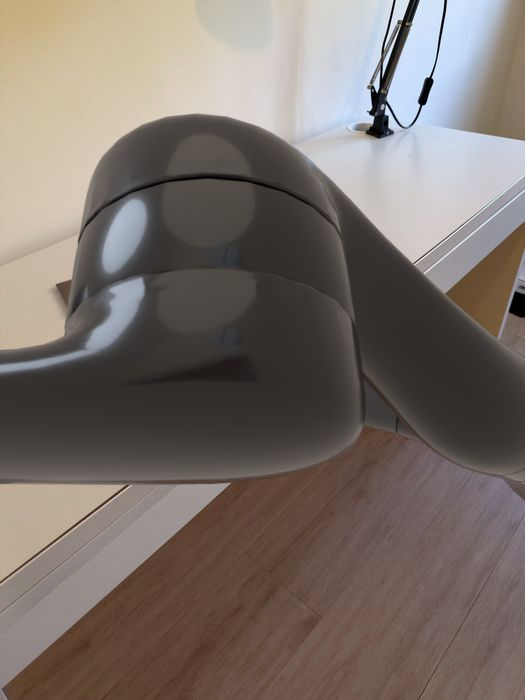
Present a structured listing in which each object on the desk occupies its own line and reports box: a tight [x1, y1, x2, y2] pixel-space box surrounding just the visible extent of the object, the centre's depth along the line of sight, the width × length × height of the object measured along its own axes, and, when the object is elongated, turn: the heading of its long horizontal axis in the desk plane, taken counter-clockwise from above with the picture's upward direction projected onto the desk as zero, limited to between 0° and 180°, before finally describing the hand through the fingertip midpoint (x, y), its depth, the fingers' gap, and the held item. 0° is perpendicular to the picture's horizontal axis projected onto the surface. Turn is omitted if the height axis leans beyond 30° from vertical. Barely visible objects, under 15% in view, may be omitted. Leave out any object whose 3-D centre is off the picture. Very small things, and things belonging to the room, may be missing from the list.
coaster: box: [55, 278, 72, 309], centre depth 81 cm, size 8×8×1 cm
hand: (198, 323), depth 50 cm, fingers open, 8 cm apart
